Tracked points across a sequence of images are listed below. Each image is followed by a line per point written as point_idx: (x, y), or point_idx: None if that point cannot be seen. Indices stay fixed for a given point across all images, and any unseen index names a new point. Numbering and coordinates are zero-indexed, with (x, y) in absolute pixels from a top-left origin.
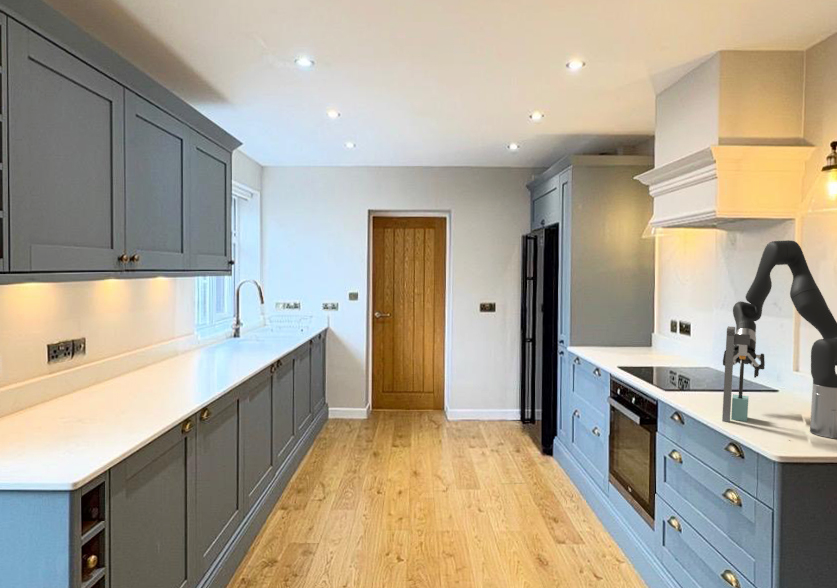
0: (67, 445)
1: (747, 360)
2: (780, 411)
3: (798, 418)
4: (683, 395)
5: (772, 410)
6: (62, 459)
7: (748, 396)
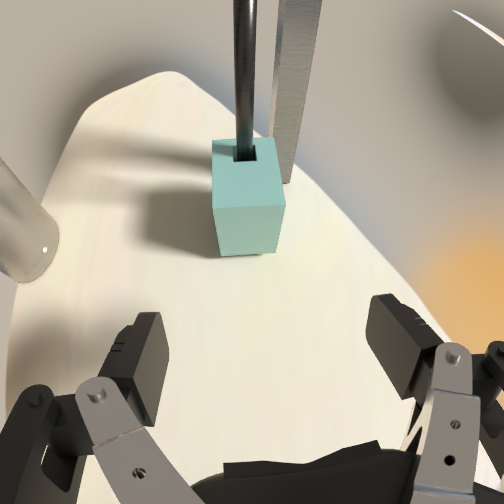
0: (490, 32)
1: (235, 477)
2: None
3: None
4: None
5: None
6: (474, 22)
7: (212, 202)
